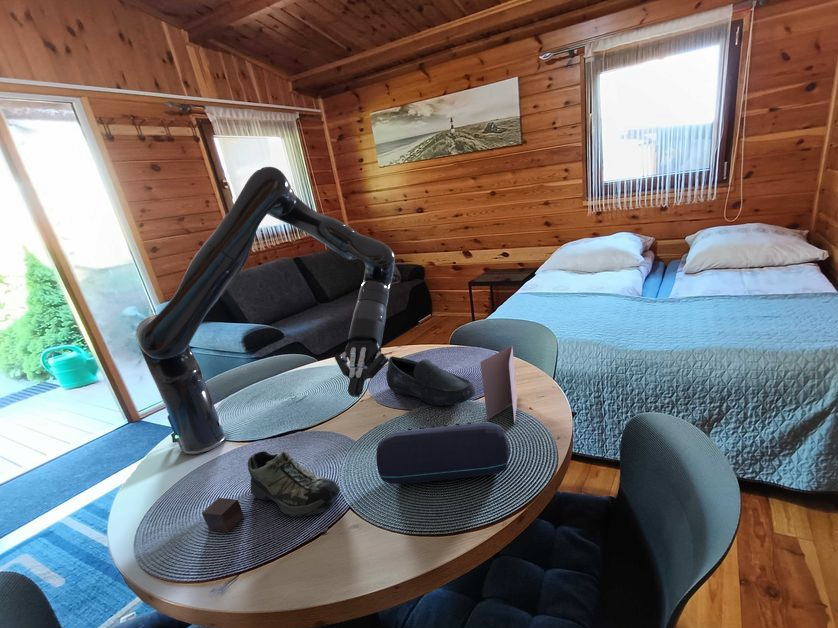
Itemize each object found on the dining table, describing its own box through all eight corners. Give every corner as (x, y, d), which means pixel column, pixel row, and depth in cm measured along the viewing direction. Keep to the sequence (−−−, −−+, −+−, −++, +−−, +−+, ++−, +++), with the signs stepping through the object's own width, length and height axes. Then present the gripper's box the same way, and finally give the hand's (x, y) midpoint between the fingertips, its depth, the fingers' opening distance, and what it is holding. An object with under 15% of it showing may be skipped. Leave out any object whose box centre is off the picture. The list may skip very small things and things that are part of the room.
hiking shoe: (319, 526, 75) (306, 482, 72) (237, 501, 84) (222, 462, 81) (350, 495, 82) (340, 454, 79) (271, 475, 92) (258, 437, 88)
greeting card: (514, 399, 110) (509, 344, 104) (538, 406, 105) (534, 349, 99) (484, 419, 102) (477, 361, 97) (508, 428, 97) (502, 367, 92)
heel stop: (208, 530, 78) (201, 512, 77) (225, 514, 82) (218, 497, 80) (228, 532, 77) (221, 515, 75) (244, 516, 80) (237, 499, 79)
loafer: (464, 414, 106) (459, 376, 102) (377, 396, 121) (369, 362, 117) (484, 395, 114) (480, 359, 110) (400, 380, 129) (394, 349, 125)
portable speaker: (508, 452, 89) (503, 410, 85) (513, 484, 80) (508, 438, 76) (388, 465, 90) (379, 423, 86) (379, 497, 81) (368, 452, 77)
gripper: (400, 330, 102) (389, 401, 95) (351, 331, 105) (336, 400, 99) (387, 315, 95) (373, 391, 89) (334, 317, 99) (317, 390, 92)
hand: (354, 395), depth 94 cm, fingers closed
